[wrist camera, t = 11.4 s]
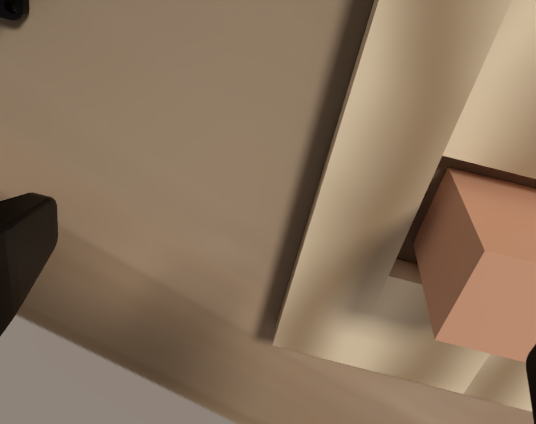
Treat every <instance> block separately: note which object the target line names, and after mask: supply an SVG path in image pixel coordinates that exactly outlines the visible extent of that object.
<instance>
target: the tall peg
mask: <svg viewBox="0 0 536 424" xmlns="http://www.w3.org/2000/svg"><path fill="white" fill-rule="evenodd" d="M413 245H414V249H415V254H416V258H417V263H418V267H419V272H420V276H421V281H422V285H423V290H424V294H425V299H426V303H427V308H428V312H429V317H430V321H431V326H432V330H433V335H434V339H435V340H437V341H441V342H445V343H449V344H453V345H457V346H461V347H465V348H469V349H473V350H477V351H481V352H485V353H489V354H493V355H497V356H501V357H505V358H509V359H513V360H517V361H521V362H525V363H526V359H527V356H528V354H529V352H530V351H531V349H532V348H533V347H534V345H535V344H536V188H532V187H528V186H523V185H519V184H515V183H511V182H507V181H503V180H499V179H495V178H491V177H487V176H483V175H479V174H475V173H471V172H466V171H462V170H458V169H454V168H450V167H448V168H447V170H446V172H445V175H444V177H443V179H442V181H441V183H440V186H439V188H438V190H437V192H436V194H435V197H434V199H433V201H432V203H431V205H430V208H429V210H428V212H427V214H426V216H425V219H424V221H423V223H422V225H421V227H420V230H419V232H418V234H417V236H416V238H415V240H414V243H413Z"/></svg>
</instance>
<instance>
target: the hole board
mask: <svg viewBox="0 0 536 424" xmlns="http://www.w3.org/2000/svg"><path fill="white" fill-rule="evenodd" d="M442 156H446V157H450V158H454V159H458V160H462V161H466V162H470V163H474V164H478V165H482V166H486V167H490V168H494V169H498V170H502V171H506V172H510V173H514V174H518V175H522V176H526V177H530V178H534V179H536V0H374V3H373V7H372V10H371V13H370V17H369V20H368V23H367V26H366V30H365V33H364V36H363V40H362V43H361V46H360V49H359V53H358V56H357V59H356V63H355V66H354V69H353V72H352V76H351V79H350V82H349V86H348V89H347V92H346V96H345V99H344V102H343V105H342V109H341V112H340V115H339V119H338V122H337V125H336V128H335V132H334V135H333V138H332V142H331V145H330V148H329V152H328V155H327V158H326V161H325V165H324V168H323V171H322V175H321V178H320V181H319V184H318V188H317V191H316V194H315V198H314V201H313V204H312V207H311V211H310V214H309V217H308V221H307V224H306V227H305V231H304V234H303V237H302V240H301V244H300V247H299V250H298V254H297V257H296V260H295V263H294V267H293V270H292V273H291V277H290V280H289V283H288V286H287V290H286V293H285V296H284V300H283V303H282V306H281V310H280V313H279V316H278V319H277V323H276V327H275V333H274V339H273V345H272V346H276V347H280V348H284V349H288V350H292V351H296V352H300V353H304V354H308V355H312V356H316V357H319V358H323V359H327V360H331V361H335V362H339V363H343V364H347V365H351V366H355V367H359V368H363V369H367V370H371V371H374V372H378V373H382V374H386V375H390V376H394V377H398V378H402V379H406V380H410V381H414V382H418V383H422V384H426V385H429V386H433V387H437V388H441V389H445V390H449V391H453V392H457V393H461V394H465V395H469V396H473V397H477V398H480V399H484V400H488V401H492V402H496V403H500V404H504V405H508V406H512V407H516V408H520V409H524V410H528V411H532V406H531V399H530V392H529V386H528V379H527V373H526V363H525V362H521V361H517V360H513V359H509V358H505V357H501V356H497V355H493V354H489V353H485V352H481V351H477V350H473V349H469V348H465V347H461V346H457V345H453V344H449V343H445V342H441V341H437V340H435V339H434V335H433V330H432V326H431V321H430V317H429V312H428V308H427V303H426V299H425V294H424V290H423V285H422V281H421V276H420V272H419V267H418V264H415V263H411V262H407V261H403V260H399V259H396V258H397V256H398V253H399V251H400V249H401V247H402V244H403V242H404V240H405V238H406V236H407V233H408V231H409V229H410V227H411V224H412V222H413V220H414V218H415V215H416V213H417V211H418V209H419V206H420V204H421V202H422V200H423V198H424V195H425V193H426V191H427V189H428V186H429V184H430V182H431V180H432V177H433V175H434V173H435V171H436V169H437V166H438V164H439V162H440V160H441V157H442Z"/></svg>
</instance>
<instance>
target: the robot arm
mask: <svg viewBox="0 0 536 424" xmlns="http://www.w3.org/2000/svg"><path fill="white" fill-rule="evenodd" d="M12 1H14V2H15V4H16V6H17V12H16V11H14V10H13V9H12V7H11V4H10V2H11V0H0V17H1V18H5V19H9V20H19V19H23V18H25V17H26V16H27V15H28V13H29V0H12ZM57 239H58V220H57V204H56V201H55V200H54V199H53V198H52V197H49V196H45V195H41V194H37V193H27V194H24V195H20V196H17V197H13V198H10V199H6V200H3V201H0V336H1V334H2V333H3V332H4V331H5V329H6V328H7V326H8V325H9V324H10V322H11V321H12V319H13V318H14V316H15V315H16V313H17V312H18V310H19V308H20V307H21V305H22V303H23V302H24V300H25V298H26V297H27V295H28V293H29V291H30V290H31V288H32V286H33V285H34V283H35V281H36V279H37V278H38V276H39V274H40V273H41V271H42V269H43V267H44V266H45V264H46V262H47V261H48V259H49V257H50V255H51V254H52V252H53V250H54V248H55V246H56V243H57ZM526 373H527V379H528V386H529V392H530V399H531V406H532V412H533V419H534V424H536V344H535V345H534V347H533V348H532V349H531V351H530V352H529V354H528V356H527V359H526Z"/></svg>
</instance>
